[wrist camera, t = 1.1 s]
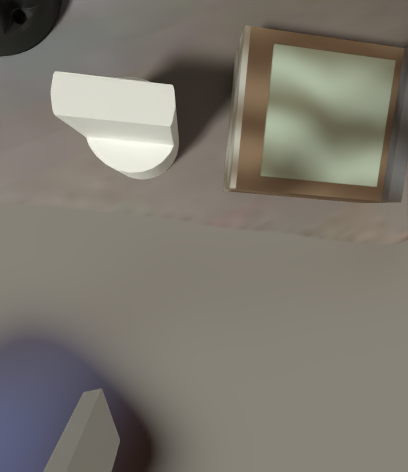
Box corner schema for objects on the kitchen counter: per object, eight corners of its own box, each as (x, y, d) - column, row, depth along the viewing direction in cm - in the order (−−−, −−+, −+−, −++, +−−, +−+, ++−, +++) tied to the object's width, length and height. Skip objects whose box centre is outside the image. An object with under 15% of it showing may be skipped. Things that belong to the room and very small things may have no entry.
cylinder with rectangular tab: (102, 176, 31) (49, 156, 19) (104, 97, 30) (51, 25, 18) (176, 182, 32) (171, 167, 20) (181, 106, 31) (179, 42, 19)
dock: (235, 54, 30) (247, 17, 24) (381, 74, 32) (426, 44, 26) (223, 190, 32) (231, 186, 26) (362, 203, 34) (401, 202, 28)
